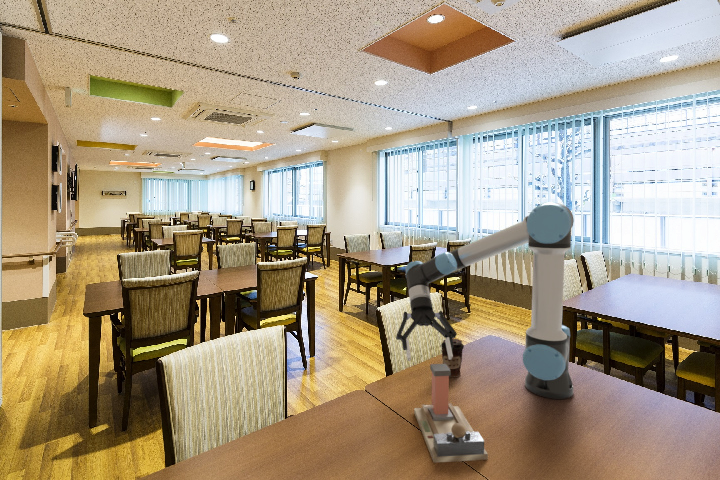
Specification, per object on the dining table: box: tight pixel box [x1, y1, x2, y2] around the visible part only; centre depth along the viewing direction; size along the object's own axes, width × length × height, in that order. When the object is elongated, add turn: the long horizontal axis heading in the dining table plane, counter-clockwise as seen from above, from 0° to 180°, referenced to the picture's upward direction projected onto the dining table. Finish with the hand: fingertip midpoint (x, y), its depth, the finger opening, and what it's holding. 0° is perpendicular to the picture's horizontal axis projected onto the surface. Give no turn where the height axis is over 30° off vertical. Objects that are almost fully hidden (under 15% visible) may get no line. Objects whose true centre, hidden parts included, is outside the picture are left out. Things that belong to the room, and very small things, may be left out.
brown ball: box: [451, 423, 466, 438], centre depth 97 cm, size 4×4×4 cm
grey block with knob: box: [433, 431, 485, 457], centre depth 98 cm, size 12×4×5 cm, turn 94°
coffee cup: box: [440, 338, 465, 378], centre depth 144 cm, size 9×8×13 cm
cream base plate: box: [413, 402, 489, 463], centre depth 107 cm, size 14×23×3 cm, turn 4°
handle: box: [424, 363, 453, 421], centre depth 114 cm, size 8×7×15 cm
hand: (430, 358), depth 122 cm, fingers open, 13 cm apart
